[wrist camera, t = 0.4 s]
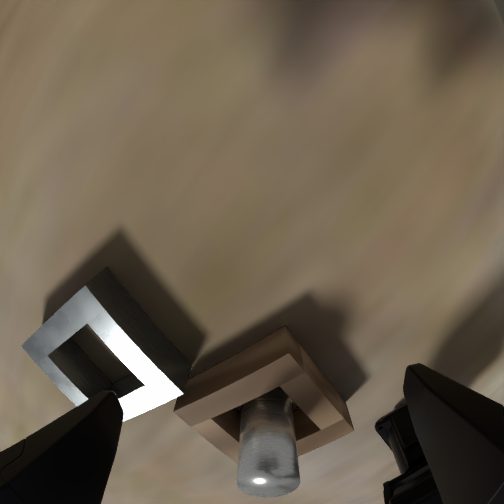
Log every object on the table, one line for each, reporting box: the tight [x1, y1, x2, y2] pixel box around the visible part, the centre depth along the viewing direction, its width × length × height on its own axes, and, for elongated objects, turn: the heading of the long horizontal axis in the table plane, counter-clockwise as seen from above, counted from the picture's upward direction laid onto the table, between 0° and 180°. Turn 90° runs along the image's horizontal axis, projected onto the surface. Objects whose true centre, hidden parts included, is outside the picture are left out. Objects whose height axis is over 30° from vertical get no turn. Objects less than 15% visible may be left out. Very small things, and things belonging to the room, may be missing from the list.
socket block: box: [173, 326, 354, 464], centre depth 23 cm, size 10×10×4 cm
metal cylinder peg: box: [237, 386, 300, 497], centre depth 21 cm, size 4×4×9 cm
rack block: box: [22, 267, 192, 421], centre depth 22 cm, size 10×10×4 cm
